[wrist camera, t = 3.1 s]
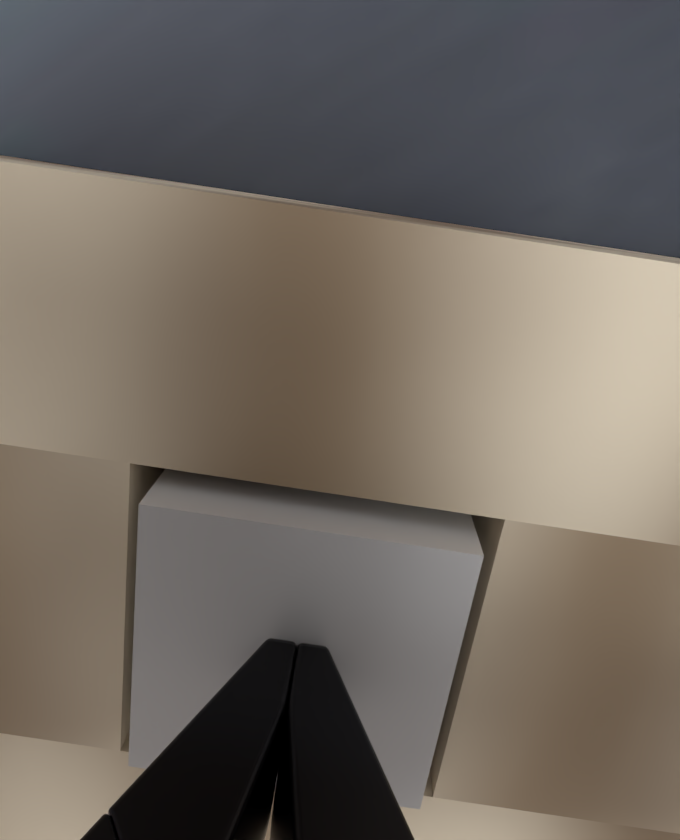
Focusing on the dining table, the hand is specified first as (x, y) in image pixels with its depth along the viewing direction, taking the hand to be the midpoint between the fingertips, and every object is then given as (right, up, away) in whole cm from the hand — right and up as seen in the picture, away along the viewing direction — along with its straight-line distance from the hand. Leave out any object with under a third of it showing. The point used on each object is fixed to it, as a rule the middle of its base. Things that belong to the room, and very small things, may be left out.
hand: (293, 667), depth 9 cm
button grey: (0, +1, +3) cm, 4 cm away
